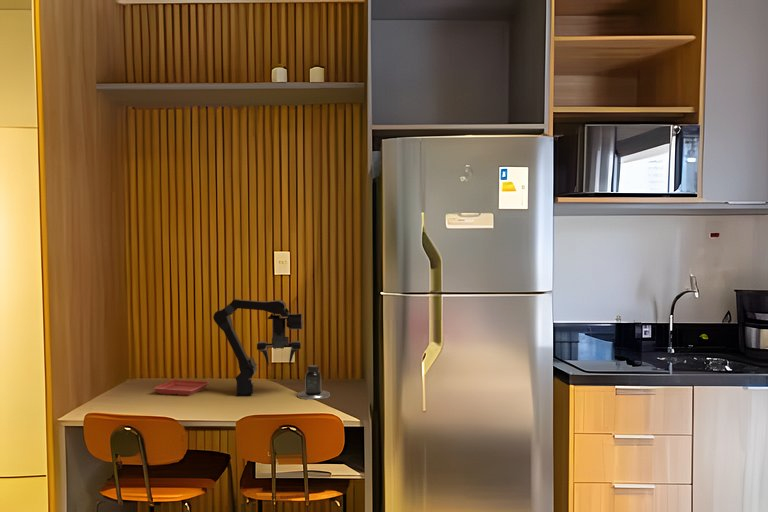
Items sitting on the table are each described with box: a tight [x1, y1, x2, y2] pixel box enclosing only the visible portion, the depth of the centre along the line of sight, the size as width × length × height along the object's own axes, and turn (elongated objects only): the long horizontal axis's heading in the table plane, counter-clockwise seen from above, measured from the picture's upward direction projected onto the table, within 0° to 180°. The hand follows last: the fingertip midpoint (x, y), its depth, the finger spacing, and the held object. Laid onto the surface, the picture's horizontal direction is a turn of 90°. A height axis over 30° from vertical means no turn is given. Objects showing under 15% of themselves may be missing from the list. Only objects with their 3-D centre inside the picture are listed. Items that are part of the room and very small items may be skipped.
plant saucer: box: [153, 379, 210, 396], centre depth 291 cm, size 18×18×3 cm
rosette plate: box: [297, 389, 331, 400], centre depth 283 cm, size 14×14×1 cm
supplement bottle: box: [304, 364, 322, 395], centre depth 283 cm, size 7×7×12 cm
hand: (278, 365), depth 285 cm, fingers open, 9 cm apart
